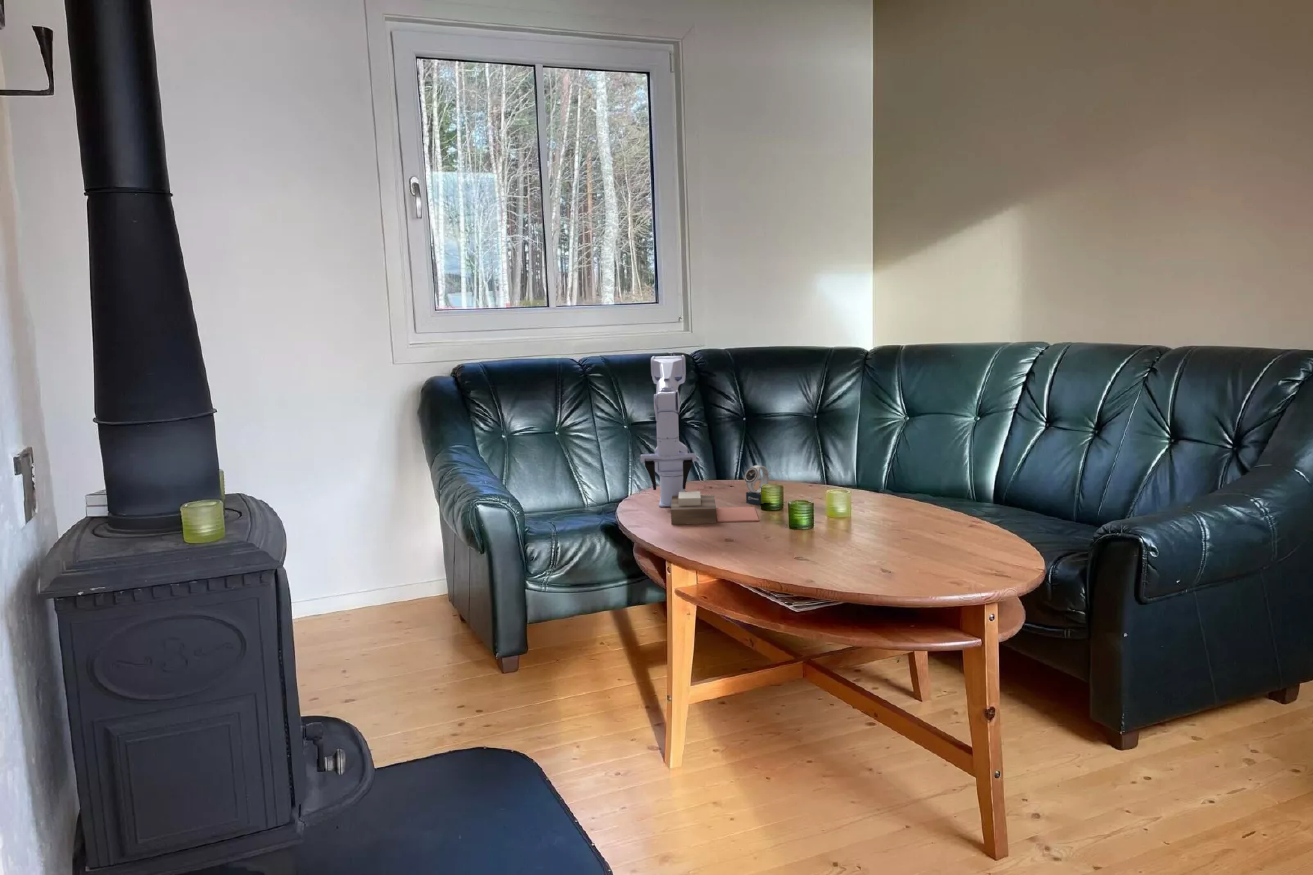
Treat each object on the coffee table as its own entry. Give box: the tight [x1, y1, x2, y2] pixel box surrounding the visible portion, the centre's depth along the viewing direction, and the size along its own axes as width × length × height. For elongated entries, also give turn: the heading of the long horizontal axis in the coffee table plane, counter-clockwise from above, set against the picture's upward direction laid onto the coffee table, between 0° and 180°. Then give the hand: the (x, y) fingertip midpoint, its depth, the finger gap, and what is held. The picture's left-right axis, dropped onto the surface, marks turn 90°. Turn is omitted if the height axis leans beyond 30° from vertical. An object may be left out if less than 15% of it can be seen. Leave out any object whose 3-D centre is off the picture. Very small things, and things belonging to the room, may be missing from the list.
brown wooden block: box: [670, 494, 717, 525], centre depth 233 cm, size 18×12×4 cm, turn 178°
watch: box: [743, 464, 770, 506], centre depth 246 cm, size 6×8×11 cm
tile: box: [678, 490, 701, 506], centre depth 232 cm, size 9×6×2 cm, turn 178°
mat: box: [716, 506, 760, 523], centre depth 232 cm, size 16×11×1 cm
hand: (669, 489), depth 221 cm, fingers open, 7 cm apart
